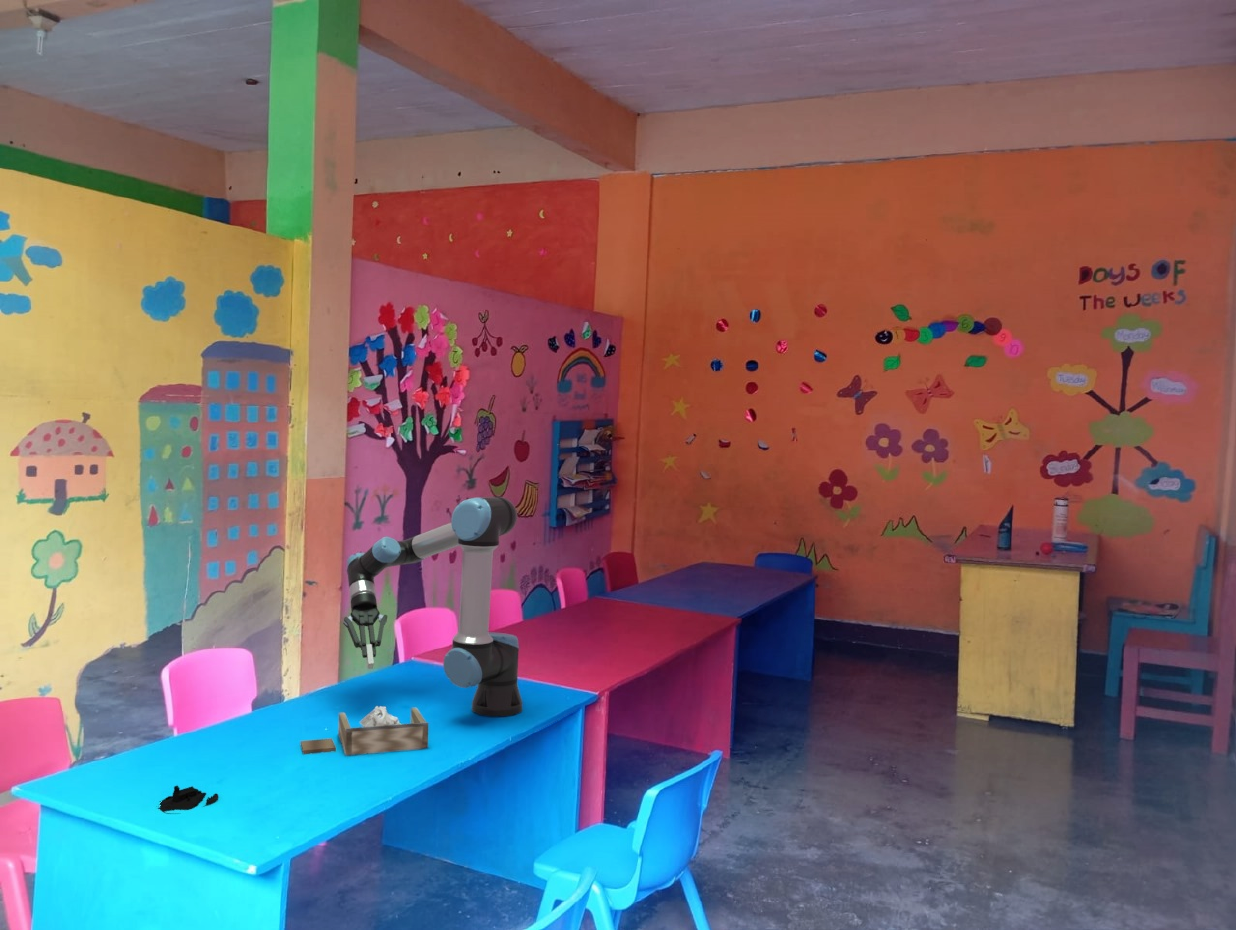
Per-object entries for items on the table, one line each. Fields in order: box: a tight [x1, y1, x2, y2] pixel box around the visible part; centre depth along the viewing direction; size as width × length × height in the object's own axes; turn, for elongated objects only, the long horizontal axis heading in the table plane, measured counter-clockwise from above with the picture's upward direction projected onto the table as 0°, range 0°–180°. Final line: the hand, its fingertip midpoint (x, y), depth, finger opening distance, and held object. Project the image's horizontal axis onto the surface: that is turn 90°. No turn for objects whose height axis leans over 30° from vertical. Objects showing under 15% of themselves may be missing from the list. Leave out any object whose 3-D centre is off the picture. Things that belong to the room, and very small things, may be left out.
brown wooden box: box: [337, 707, 429, 756], centre depth 265 cm, size 21×18×7 cm
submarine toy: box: [157, 785, 219, 815], centre depth 218 cm, size 12×10×5 cm
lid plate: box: [300, 738, 337, 755], centre depth 258 cm, size 8×8×2 cm
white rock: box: [358, 705, 403, 727], centre depth 266 cm, size 12×9×10 cm
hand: (370, 666), depth 284 cm, fingers closed
